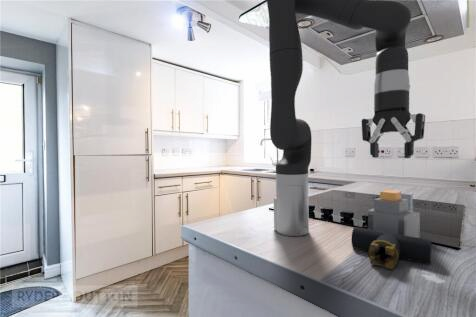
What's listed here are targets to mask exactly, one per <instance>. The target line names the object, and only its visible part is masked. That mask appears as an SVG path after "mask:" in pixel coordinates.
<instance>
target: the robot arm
mask: <svg viewBox="0 0 476 317" xmlns="http://www.w3.org/2000/svg"><path fill="white" fill-rule="evenodd" d="M266 6H267V11H268V27H269V28H268V32H269V33H268V41H269V46H268V47H269V71H270V93H271V94H270V95H271V99H270V100H271V104H270V105H271V106H270V110H271V111H270V121H269V122H270V123H269V124H270V125H269V126H270V127H269V131H270V132H269V136H270V141H271V143H272V144H273V146H274V147H275V148H276V149H278V150H281V151H283V152H282V157H281V159H280V160H279V161H278V163H276V166H275V187H276V188H275V192H276V193H275V194H276V197H274V198H273V228H274V231H277V233H278V234H281V235H282V236H283V235H284V236H289V237H302V236H306V235H308V234H309V231H310V230H309V227H310V226H309V225H310V224H309V219H310V218H309V215H310V214H309V213H310V212H309V168H310V167H309V166H310V164H311V161H312V130H311V127H310V125H309V123H307V121H306V120H304V119H301V118H297V116H296V101H295V100H296V93H297V90H298V87H299V84H300V81H301V79H302V75H303V67H304V61H303V60H304V59H303V47H302V46H303V45H302V39H301V34H300V30H299V26H298V25H299V24H298V21H297V16H296V14H301V15H305V16H311V17H316V18H320V19H323V20H326V21H329V22H332V23H335V24H337V25H341V26H343V27H346V28H348V29H352V30H357V31H359V30H362V29H363V28H367V29H371V30H374V46H375V55H376V56H375V79H374V83H373V84H374V87H373V88H374V93H373V94H374V97H373V98H374V104H373V105H374V106H373V110H374V116H372V118H362V119H361V133H362V134H361V135H362V138H361V139H362V141H364V142H368V143H369V148H370V149H369V155H370V156H372V158H374V159H375V158H379V150H380V149H379V148H380V147H379V141H380V139H381V137H382V136H383V135H384V134H386V133H393V132H394V133H399V134H400V135H401V136H402V138H403V139H404V140H405V142H404V143H403V144H404V148H403V149H404V150H403V152H404V153H403V154H404V155H403V156H404V157H403V158H404V159H411V157H412V156H414V151H415V148H414V146H415V142H417V141H419V140H422V139H424V137H425V126H426V125H425V124H426V115H425V113H421V112H419V113H417V114H411V112H410V89H411V84H410V76H409V75H410V74H409V53H408V49H407V48H406V33H407V29H408V27H409V25H410V22H411V21H412V20H411V19H412V12H411V10H410V9H409V7H408V6H407V5H405V4H403V3H401V2H398V1H395V0H394V1H393V0H266ZM411 120H412V122H413V123H414V134H412V132H411V131H410V129H409V128H408V126H407V125H408V123H409V122H410V121H411ZM373 124H374V125H375V126H376V127H375V129H374V130H373V131H371V129H372V128H371V127H372V126H373Z"/></svg>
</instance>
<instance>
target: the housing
mask: <svg viewBox="0 0 476 317" xmlns="http://www.w3.org/2000/svg"><path fill="white" fill-rule="evenodd" d="M420 217H421V212H419V211H408V199H401V200H400V201H398V202H394V201H387V200H380V197H378V198H374V199H373V207H372V208H371V209H368V210H367V229H370V230H375V231H381V232H387V233H393V234H399V235H404V236H410V237H416V238H421V237H420V233H421V232H420V228H421V226H420V225H421V222H420V221H421V218H420Z"/></svg>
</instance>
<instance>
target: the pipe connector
mask: <svg viewBox="0 0 476 317" xmlns="http://www.w3.org/2000/svg"><path fill="white" fill-rule="evenodd" d="M351 233H352V234H351V246H352V248H353V247H354V249H357V250H359V249H360V250H363V251H368V255H369V258H370V265H374V266H382V267H384V268H386V269H390V270H394V268H395V266H396V264H397V263H398V260H399V259H403V260H408V261H413V262H417V263H421V264H426V265H431V261H432V259H431V258H432V240H431V239H427V238H421V237H420V238H416V237H410V236H404V235H399V234H393V233H387V232H381V231H375V230H370V229H368V228H364V227H356V226H355V227H353V229H352V232H351Z"/></svg>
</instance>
